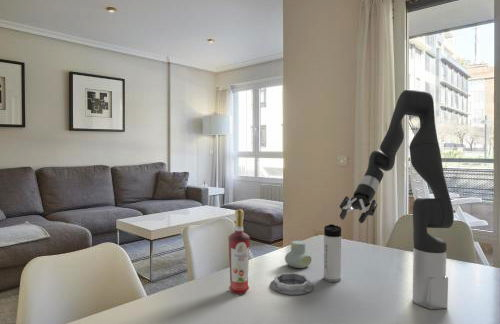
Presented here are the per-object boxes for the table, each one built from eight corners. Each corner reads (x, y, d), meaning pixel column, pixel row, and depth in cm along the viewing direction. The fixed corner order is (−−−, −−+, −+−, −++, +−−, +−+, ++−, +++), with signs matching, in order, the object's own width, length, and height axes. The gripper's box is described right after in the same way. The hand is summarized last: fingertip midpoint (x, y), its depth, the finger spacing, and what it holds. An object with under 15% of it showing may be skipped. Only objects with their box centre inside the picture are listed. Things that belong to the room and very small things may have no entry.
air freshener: (296, 271, 136) (296, 246, 136) (281, 266, 143) (281, 242, 142) (314, 265, 143) (314, 242, 143) (299, 260, 150) (299, 238, 149)
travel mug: (339, 276, 132) (339, 224, 131) (342, 282, 125) (342, 228, 124) (322, 275, 132) (323, 224, 131) (324, 282, 126) (325, 227, 125)
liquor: (230, 297, 113) (230, 212, 112) (226, 288, 120) (226, 208, 119) (252, 294, 115) (252, 211, 114) (246, 286, 122) (246, 207, 121)
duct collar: (319, 293, 116) (319, 286, 116) (276, 296, 113) (276, 289, 113) (304, 277, 130) (304, 270, 130) (266, 279, 128) (266, 272, 128)
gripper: (348, 181, 146) (331, 211, 139) (379, 184, 135) (363, 217, 128) (355, 193, 150) (339, 223, 143) (386, 196, 139) (370, 229, 132)
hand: (350, 220), depth 135 cm, fingers open, 8 cm apart
